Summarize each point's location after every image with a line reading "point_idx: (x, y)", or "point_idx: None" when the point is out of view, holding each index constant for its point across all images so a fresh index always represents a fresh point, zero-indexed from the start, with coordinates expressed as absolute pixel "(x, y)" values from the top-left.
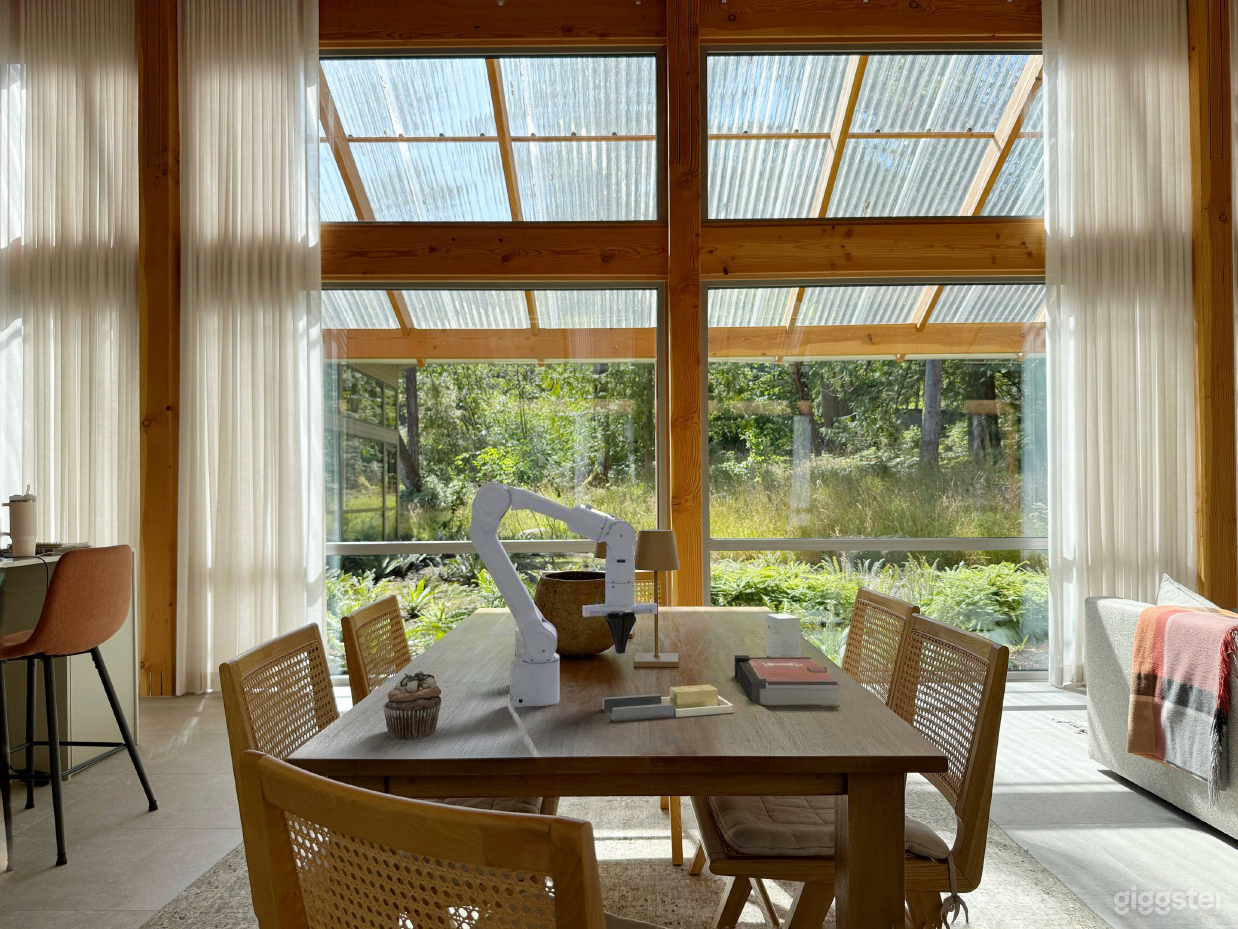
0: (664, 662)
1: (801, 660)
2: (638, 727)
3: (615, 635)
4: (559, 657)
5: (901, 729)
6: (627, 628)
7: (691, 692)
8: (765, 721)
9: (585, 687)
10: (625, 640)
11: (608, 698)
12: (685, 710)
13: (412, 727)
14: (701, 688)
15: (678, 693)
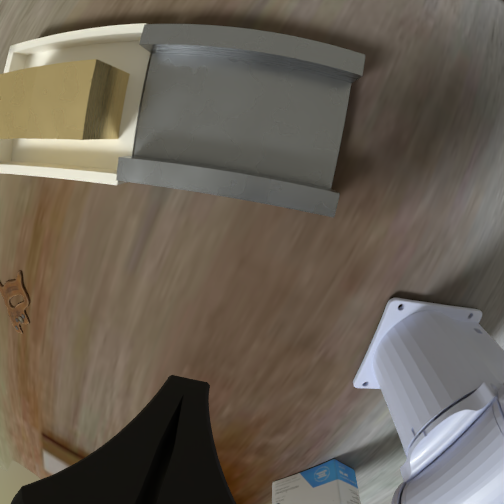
0: (61, 458)
1: None
2: (284, 33)
3: (220, 468)
4: (426, 431)
5: None
6: (109, 480)
7: (55, 64)
8: (6, 23)
9: (237, 436)
10: (149, 421)
11: (319, 198)
12: (119, 26)
13: None
14: (16, 95)
15: (93, 59)
